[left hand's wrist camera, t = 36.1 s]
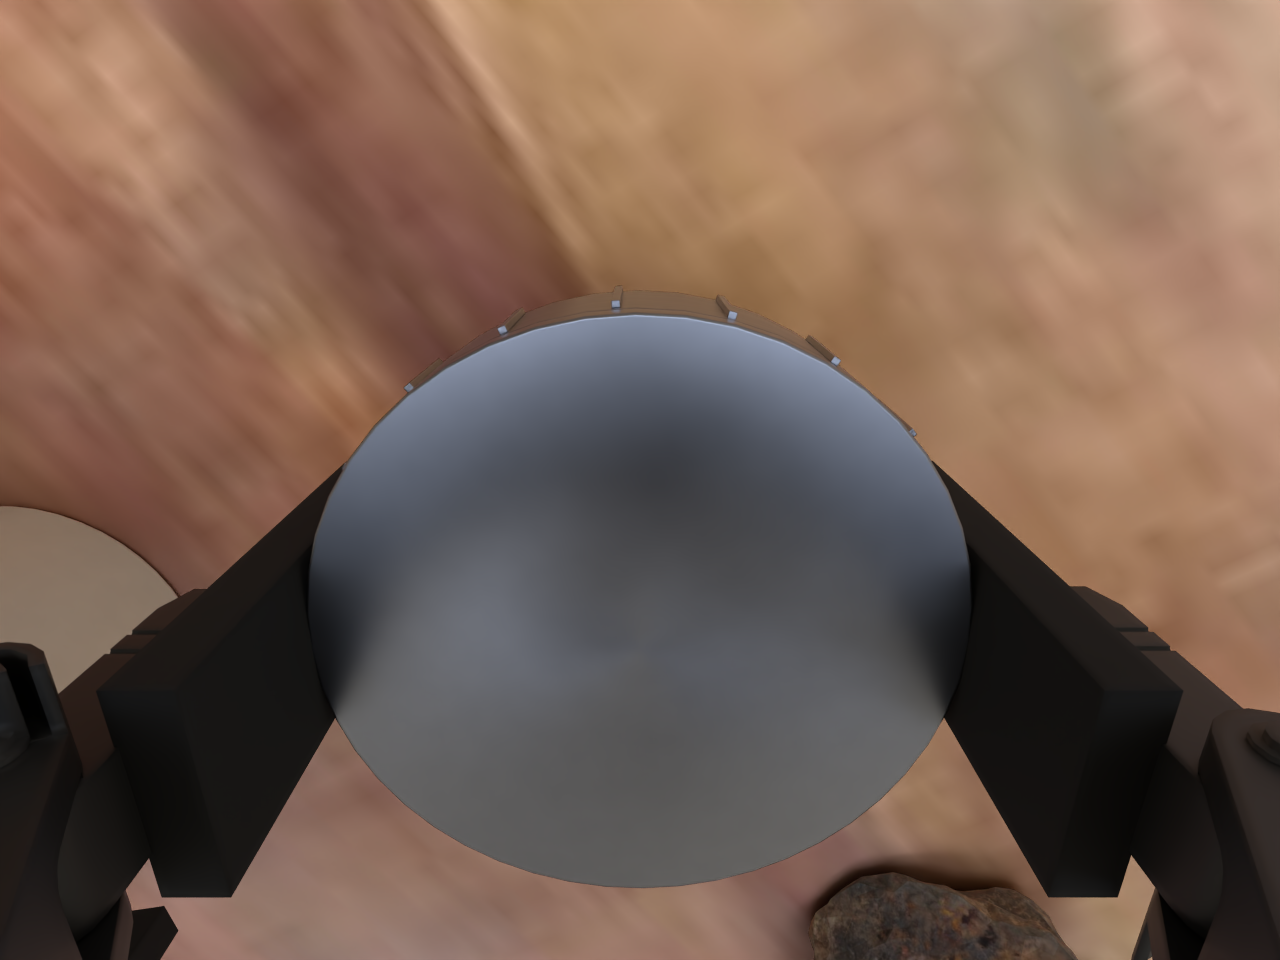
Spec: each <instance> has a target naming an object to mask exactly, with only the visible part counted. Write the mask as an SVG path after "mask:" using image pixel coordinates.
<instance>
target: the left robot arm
mask: <svg viewBox="0 0 1280 960" xmlns="http://www.w3.org/2000/svg"><path fill="white" fill-rule="evenodd" d="M346 462H347V461H346ZM932 463H933V465H934V467H935V468H936V470H937V472H938V474H939V475H940V477H941V479H942V481H943V482H944V484H945V486H946V487H947V489H948V491H949V494H950V497H951V499H952V502H953V504H954V507H955V510H956V512H957V515H958V517H959V520H960V523H961V525H962V528H963V532H964V537H965V542H966V546H967V551H968V556H969V560H970V565H971V579H972V597H973V610H972V621H971V629H970V635H969V640H968V646H967V651H966V656H965V661H964V666H963V670H962V674H961V678H960V681H959V684H958V686H957V689H956V691H955V693H954V696H953V698H952V701H951V703H950V706H949V708H948V710H947V713H946V715H945V717H944V718H945V720H946V722H947V723H948V725H949V727H950V728H951V730H952V732H953V734H954V735H955V737H956V739H957V741H958V742H959V744H960V746H961V747H962V749H963V751H964V753H965V754H966V756H967V758H968V759H969V761H970V763H971V765H972V766H973V768H974V770H975V772H976V773H977V775H978V777H979V778H980V780H981V782H982V784H983V785H984V787H985V789H986V791H987V792H988V794H989V796H990V797H991V799H992V801H993V803H994V804H995V806H996V808H997V809H998V811H999V813H1000V815H1001V816H1002V818H1003V820H1004V822H1005V823H1006V825H1007V827H1008V828H1009V830H1010V832H1011V834H1012V835H1013V837H1014V839H1015V841H1016V842H1017V844H1018V846H1019V847H1020V849H1021V851H1022V853H1023V854H1024V856H1025V858H1026V860H1027V861H1028V863H1029V865H1030V866H1031V868H1032V870H1033V872H1034V873H1035V875H1036V877H1037V878H1038V880H1039V882H1040V884H1041V885H1042V887H1043V889H1044V891H1045V892H1046V894H1047V896H1048V897H1118V894H1119V891H1120V888H1121V885H1122V882H1123V879H1124V876H1125V873H1126V869H1127V866H1128V863H1129V860H1130V857H1131V855H1132V857H1133V858H1134V859H1135V861H1136V862H1137V863H1138V865H1139V866H1140V867H1141V869H1142V870H1143V871H1144V873H1145V874H1146V875H1147V877H1148V878H1149V879H1150V881H1151V882H1152V883H1153V885H1154V886H1155V890H1154V893H1153V896H1152V899H1151V902H1150V905H1149V908H1148V911H1147V913H1146V916H1145V919H1144V922H1143V925H1142V928H1141V931H1140V934H1139V937H1138V940H1137V943H1136V946H1135V948H1134V951H1133V954H1132V959H1131V960H1148V959H1149V958H1151V957H1152V958H1153V960H1280V713H1276V712H1269V711H1262V710H1255V709H1249V708H1247V709H1243V708H1242V707H1241V706H1239V705H1238V704H1237V703H1236V702H1235V701H1234V700H1232V699H1231V698H1230V697H1229V696H1228V695H1226V694H1225V693H1224V692H1223V691H1222V690H1221V689H1219V688H1218V687H1217V686H1216V685H1215V684H1214V683H1212V682H1211V681H1210V680H1209V679H1208V678H1207V677H1205V676H1204V675H1203V674H1202V673H1201V672H1200V671H1198V670H1197V669H1196V668H1195V667H1194V666H1193V665H1191V664H1190V663H1189V662H1188V661H1187V660H1186V659H1184V658H1183V657H1182V656H1181V655H1180V654H1179V653H1177V652H1176V651H1170V646H1169V645H1168V644H1167V643H1166V642H1164V641H1163V640H1162V639H1161V638H1160V637H1159V636H1157V635H1156V634H1155V633H1154V632H1149V631H1148V627H1147V626H1146V625H1145V624H1143V623H1142V622H1141V621H1140V620H1139V619H1138V618H1136V617H1135V616H1134V615H1133V614H1132V613H1131V612H1129V611H1128V610H1127V609H1126V608H1125V607H1124V606H1122V605H1121V604H1119V603H1117V602H1115V601H1113V600H1111V599H1109V598H1107V597H1105V596H1103V595H1101V594H1099V593H1097V592H1095V591H1093V590H1091V589H1090V588H1088V587H1086V586H1069V585H1068V584H1066V583H1065V582H1064V581H1063V580H1062V579H1061V578H1060V577H1059V576H1058V575H1057V574H1056V573H1054V572H1053V571H1052V570H1051V569H1050V568H1049V567H1048V566H1047V565H1046V564H1045V563H1044V562H1042V561H1041V560H1040V559H1039V558H1038V557H1037V556H1036V555H1035V554H1034V553H1033V552H1032V551H1030V550H1029V549H1028V548H1027V547H1026V546H1025V545H1024V544H1023V543H1022V542H1021V541H1020V540H1018V539H1017V538H1016V537H1015V536H1014V535H1013V534H1012V533H1011V532H1010V531H1009V530H1007V529H1006V528H1005V527H1004V526H1003V525H1002V524H1001V523H1000V522H999V521H998V520H997V519H995V518H994V517H993V516H992V515H991V514H990V513H989V512H988V511H987V510H986V509H985V508H983V507H982V506H981V505H980V504H979V503H978V502H977V501H976V500H975V499H974V498H973V497H971V496H970V495H969V494H968V493H967V492H966V491H965V490H964V489H963V488H962V487H961V486H959V485H958V484H957V483H956V482H955V481H954V480H953V479H952V478H951V477H950V476H949V475H947V474H946V473H945V472H944V471H943V470H942V469H941V468H940V467H939V466H938V465H936V464H935V463H934V462H933V461H932ZM344 464H345V463H344ZM344 464H343V465H344ZM343 465H342V466H341V467H340V468H339V469H338V470H336V471H335V472H334V473H333V474H332V475H331V476H330V477H329V478H328V479H327V480H326V481H324V482H323V483H322V484H321V485H320V486H319V487H318V488H317V489H316V490H315V491H314V492H312V493H311V494H310V495H309V496H308V497H307V498H306V499H305V500H304V501H303V502H301V503H300V504H299V505H298V506H297V507H296V508H295V509H294V510H293V511H292V512H291V513H289V514H288V515H287V516H286V517H285V518H284V519H283V520H282V521H281V522H280V523H279V524H277V525H276V526H275V527H274V528H273V529H272V530H271V531H270V532H269V533H268V534H267V535H265V536H264V537H263V538H262V539H261V540H260V541H259V542H258V543H257V544H256V545H255V546H253V547H252V548H251V549H250V550H249V551H248V552H247V553H246V554H245V555H244V556H242V557H241V558H240V559H239V560H238V561H237V562H236V563H235V564H234V565H233V566H232V567H230V568H229V569H228V570H227V571H226V572H225V573H224V574H223V575H222V576H221V577H220V578H218V579H217V580H216V581H215V582H214V583H213V584H212V585H211V586H210V587H209V588H208V589H194V590H192V591H190V592H188V593H186V594H184V595H182V596H180V597H178V598H176V599H174V600H172V601H171V602H169V603H167V604H165V605H163V606H161V607H159V608H157V609H156V610H155V611H154V612H153V613H152V614H150V615H149V616H148V617H147V618H146V619H145V620H143V621H142V622H141V623H140V624H139V625H138V626H137V627H135V628H134V629H133V630H132V635H126V636H125V637H124V638H123V639H121V640H120V641H119V642H118V643H117V644H116V645H114V646H113V647H112V648H111V649H110V650H111V651H110V654H104V655H103V656H102V657H101V658H99V659H98V660H97V661H96V662H95V663H94V664H92V665H91V666H90V667H89V668H88V669H87V670H85V671H84V672H83V673H82V674H81V675H80V676H78V677H77V678H76V679H75V680H74V681H73V682H72V683H70V684H69V685H68V686H67V687H66V688H65V689H63V690H62V691H61V692H60V693H59V694H58V692H57V689H56V686H55V683H54V680H53V677H52V674H51V671H50V668H49V665H48V662H47V659H46V657H45V654H44V651H43V650H41V649H39V648H37V647H36V646H34V645H32V644H28V643H15V642H4V643H0V960H128V954H129V948H130V941H131V934H132V928H133V916H132V910H131V905H130V902H129V899H128V896H127V893H126V888H127V887H128V886H129V884H130V883H131V882H132V880H133V879H134V878H135V876H136V875H137V873H138V872H139V871H140V869H141V868H142V867H143V865H144V864H145V863H146V861H147V860H148V859H150V862H151V865H152V868H153V871H154V874H155V878H156V881H157V884H158V887H159V890H160V893H161V896H162V897H232V895H233V893H234V891H235V890H236V888H237V886H238V885H239V883H240V881H241V879H242V878H243V876H244V874H245V872H246V871H247V869H248V867H249V866H250V864H251V862H252V860H253V859H254V857H255V855H256V853H257V852H258V850H259V848H260V847H261V845H262V843H263V841H264V840H265V838H266V836H267V835H268V833H269V831H270V829H271V828H272V826H273V824H274V822H275V821H276V819H277V817H278V816H279V814H280V812H281V810H282V809H283V807H284V805H285V803H286V802H287V800H288V798H289V797H290V795H291V793H292V791H293V790H294V788H295V786H296V785H297V783H298V781H299V779H300V778H301V776H302V774H303V772H304V771H305V769H306V767H307V766H308V764H309V762H310V760H311V759H312V757H313V755H314V753H315V752H316V750H317V748H318V747H319V745H320V743H321V741H322V740H323V738H324V736H325V735H326V733H327V731H328V729H329V728H330V726H331V724H332V722H333V721H334V719H335V716H334V713H333V711H332V709H331V707H330V704H329V702H328V700H327V697H326V695H325V693H324V691H323V688H322V686H321V683H320V679H319V676H318V672H317V668H316V664H315V659H314V654H313V649H312V644H311V638H310V632H309V626H308V619H307V584H308V570H309V564H310V559H311V553H312V548H313V543H314V537H315V533H316V530H317V528H318V525H319V522H320V519H321V516H322V513H323V511H324V508H325V505H326V502H327V499H328V496H329V495H330V493H331V491H332V489H333V487H334V485H335V484H336V482H337V480H338V478H339V476H340V474H341V472H342V471H343V470H342V467H343Z"/></svg>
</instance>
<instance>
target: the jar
mask: <svg viewBox="0 0 1280 960" xmlns="http://www.w3.org/2000/svg"><path fill="white" fill-rule="evenodd" d="M176 598H178V596H177V595H176V594H175V592H174V591H173V589H172V588H171V587H170V586H169V585H168V584H167V582H166V581H165V580H164V579H163V578H162V577H161V576H160V575H159V574H158V572H157V571H155V570H154V569H153V568H152V567H151V566H150V565H149V564H148V563H147V562H145V561H144V560H143V559H142V558H141V557H140V556H138V555H137V554H136V553H134V552H133V551H131V550H130V549H129V548H127V547H126V546H125V545H123V544H122V543H120V542H118V541H117V540H115V539H113V538H112V537H110V536H108V535H107V534H105V533H103V532H101V531H99V530H97V529H95V528H93V527H91V526H88V525H86V524H84V523H82V522H79V521H77V520H74V519H71V518H68V517H65V516H62V515H59V514H55V513H51V512H47V511H43V510H38V509H32V508H24V507H16V506H0V643H4V642H15V643H28V644H32V645H34V646H36V647H37V648H39V649H41V650H43V651H44V654H45V657H46V659H47V662H48V665H49V668H50V671H51V674H52V677H53V680H54V683H55V686H56V689H57V692H58V694H59V693H60V692H61V691H62V690H63V689H65V688H66V687H67V686H68V685H69V684H70V683H72V682H73V681H74V680H75V679H76V678H77V677H78V676H80V675H81V674H82V673H83V672H84V671H85V670H87V669H88V668H89V667H90V666H91V665H92V664H94V663H95V662H96V661H97V660H98V659H99V658H101V657H102V656H103V655H104V654H110V651H111V650H110V649H111V648H112V647H113V646H114V645H116V644H117V643H118V642H119V641H120V640H121V639H123V638H124V637H125V636H126V635H132V630H133V629H134V628H135V627H137V626H138V625H139V624H140V623H141V622H142V621H143V620H145V619H146V618H147V617H148V616H149V615H150V614H152V613H153V612H154V611H155V610H156V609H157V608H159V607H161V606H163V605H165V604H167V603H169V602H171V601H172V600H174V599H176Z"/></svg>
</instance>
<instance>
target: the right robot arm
mask: <svg viewBox="0 0 1280 960" xmlns="http://www.w3.org/2000/svg"><path fill="white" fill-rule="evenodd" d="M132 916H133V928H132V934H131V941H130V948H129V954H128V960H160V959H161V957H162V956H163V954H164V953H165V951H166V949H167V948H168V946H169V945H170V943H171V942H172V940H173V938H174V937H175V935H176V934H177V932H178V929H177V927H176V926H175V924H174V922H173V921H172V919H171V917H170V915H169V914H168V912H167V910H166V908H165V907H164V906H161V907H154V908H148V909H141V910H134V911H132Z"/></svg>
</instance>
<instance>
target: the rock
mask: <svg viewBox="0 0 1280 960" xmlns="http://www.w3.org/2000/svg"><path fill="white" fill-rule="evenodd" d="M808 934H809V938H810V941H811V944H812V947H813V949H814V960H1078V959H1077V958H1076V956H1075V955H1074V953H1073V952H1072V951H1071V950H1070V949H1069V948H1068V947H1067V946H1066V945H1065V943H1064V942H1063V940H1062V939H1061V937H1060V936H1059V935H1058V933H1057V932H1056V930H1055V928H1054V925H1053V923H1052V921H1051V919H1050V917H1049V916H1048V915H1047V914H1046V913H1045V912H1044V911H1043V910H1042V909H1041V908H1040V907H1039V906H1038V905H1037V904H1036V903H1035V902H1034V901H1032V900H1031V899H1029V898H1028V897H1026V896H1024V895H1022V894H1020V893H1019V892H1017V891H1015V890H1013V889H1008V888H1000V887H993V888H990V889H983V890H971V891H957V890H953V889H951V888H950V887H948V886H946V885H939V884H932V883H925V882H922V881H920V880H917V879H914V878H912V877H909V876H907V875H903V874H899V873H894V872H891V873H884V874H878V875H871V876H863V877H860V878H859V879H857V880H855V881H854V882H852V883H851V884H849V885H847V886H846V887H844V888H843V889H842V890H840V891H839V892H838V893H837V894H836V895H835V896H833V897H832V898H831V899H830V901H829V902H828V904H827V905H825V906H824V907H822V908H821V909H819V910H818V911H817V912H816V913H815V915H814V917H813V918H812V920H811V924H810V928H809V932H808Z"/></svg>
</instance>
